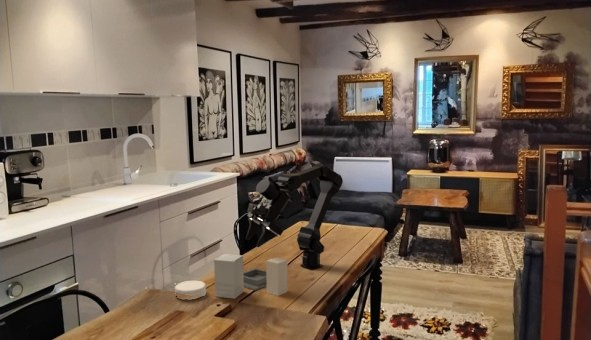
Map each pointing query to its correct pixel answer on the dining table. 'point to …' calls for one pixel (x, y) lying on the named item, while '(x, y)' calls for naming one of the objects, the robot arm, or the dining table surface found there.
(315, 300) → the dining table surface
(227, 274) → the supplement box
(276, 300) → the dining table surface
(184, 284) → the white round disc
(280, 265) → the cream block
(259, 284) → the tray
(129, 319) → the dining table surface
